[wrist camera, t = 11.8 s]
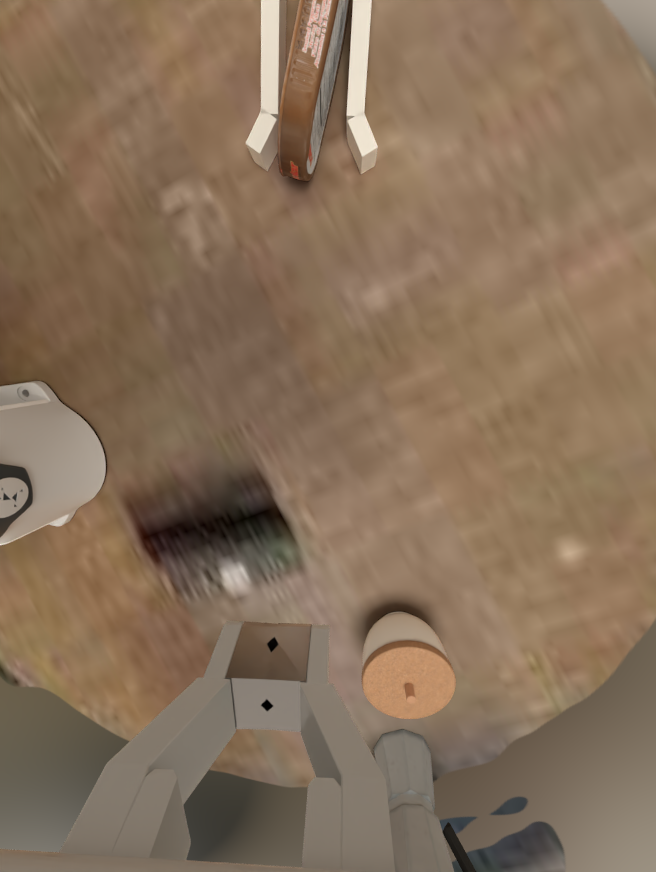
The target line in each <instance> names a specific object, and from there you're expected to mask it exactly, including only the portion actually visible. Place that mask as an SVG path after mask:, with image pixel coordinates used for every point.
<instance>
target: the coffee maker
mask: <svg viewBox="0 0 656 872" xmlns="http://www.w3.org/2000/svg"><path fill="white" fill-rule="evenodd" d="M374 754H375V759H376V762H377V764H378V766H379V768H380V770H381V772H382V773H383V775H384V777H385V779H386V786H387V796H388V805H389V815H390V825H391V835H392V844H393V854H394V864H395V872H454V870H453V866H452V863H451V860H450V856H449V853H448V849H447V846H446V843H445V839H444V836H445V838H446V840H447V842H448V844H449V846H450V847H451V849H452V852H453V853H454V855H455V857H456V859H457V861H458V863H459V865H460V867H461V869H462V871H463V872H476V871H475V869H474V867H473V865H472V863H471V861H470V860H469V858H468V856H467V854H466V852H465V850H464V849H463V847H462V845H461V843H460V841H459V839H458V838H457V836H456V834H455V832H454V830H453V828H452V827H451V825H450V823H449V822H448V823H447V825H446V826H445V828H444V830H443V832H442V829H441V825H440V822H439V819H438V817H437V816H435V815H434V813H433V811H434V809H435V804H434V791H433V778H432V765H431V752H430V750H429V747H428V745H427V743H426V741H425V739H424V737H423V736H421V735H418V734H415V733H412V732H409V731H407V730H404V729H401V730H397V731H394V732H390V733H386V734H382V735H381V737H380V739H379V740H378V742H377V744H376V745H375V747H374ZM443 834H444V836H443Z"/></svg>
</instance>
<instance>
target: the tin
mask: <svg viewBox="0 0 656 872" xmlns="http://www.w3.org/2000/svg"><path fill="white" fill-rule="evenodd" d="M349 4H350V0H299V4H298V9H297V14H296V19H295V25H294V29H293V35H292V40H291V45H290V50H289V56H288V61H287V66H286V71H285V76H284V81H283V87H282V94H281V103H280V111H279V123H278V149H277V151H278V164H279V170H280V173H281V175H282V176H289V177H292V178H295V179H298V180H302V181H309V180H310V179H311V178H312V176H313V173H314V171H315V167H316V164H317V160H318V156H319V152H320V148H321V143H322V139H323V135H324V131H325V126H326V122H327V118H328V114H329V110H330V105H331V101H332V96H333V92H334V87H335V82H336V78H337V73H338V68H339V64H340V59H341V53H342V48H343V43H344V37H345V31H346V25H347V19H348V12H349Z"/></svg>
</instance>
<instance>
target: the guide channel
mask: <svg viewBox="0 0 656 872" xmlns="http://www.w3.org/2000/svg"><path fill="white" fill-rule="evenodd" d="M286 3H287V0H261V112H260V114H259V116H258V118H257V120H256V122H255V124H254V127H253V129H252V131H251V133H250V135H249V137H248V139H247V141H246V145H247V147H248V149H249V152H250V154H251V156H252V158H253V160H254V162H255V163H257V164H258V165H259V166H261V167H262V168H263V169H265V170H266V171H268V170H269V168H270V166H271V164H272V162H273V160H274V158H275V156H276V154H277V152H278V151H277V149H278V123H279V111H280V103H281V94H282V87H283V81H284V76H285V66H286ZM371 3H372V0H353V10H352V28H351V46H350V64H349V82H348V100H347V143H348V145H349V147H350V150H351V152H352V154H353V157H354V159H355V162H356V164H357V166H358V169H359V171H360V173H361V174H363V173H364V172H366V171H368V170H369V169H371V168H373V167H374V166H375V163H376V156H377V149H378V146H377V144H376V141H375V139H374V136H373V134H372V131H371V129H370V127H369V124H368V122H367V119H366V117H365V114H364V108H365V93H366V78H367V63H368V48H369V33H370V18H371Z"/></svg>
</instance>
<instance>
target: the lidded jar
mask: <svg viewBox="0 0 656 872" xmlns="http://www.w3.org/2000/svg"><path fill="white" fill-rule="evenodd" d="M455 685H456V680H455V675H454V671H453V668H452V666H451V664H450V662H449V660H448V657H447V654H446V651H445V649H444V647H443V645H442V643H441V641H440V639H439V638H438V636H437V635H436V633H435V632H434V631H433V629H432V628H431V627H430V626H429V625H428V624H427V623H426V622H424V621H423V620H421V619H420V618H418V617H416V616H413V615H411V614H409V613H406V612H399V611H397V612H391V613H388V614H386V615H384V616H383V617H382V618H381V619H380V620H378V621H377V622H376V623H375V624H374V625H373V626H372V628H371V629H370V631H369V633H368V635H367V637H366V639H365V644H364V648H363V657H362V686H363V691H364V693H365V695H366V697H367V699H368V700H369V701H370V703H371V704H372V705H373V706H374V707H376V708H377V709H378V710H380V711H381V712H383V713H385V714H387V715H389V716H393V717H397V718H402V719H417V718H423V717H426V716H430V715H432V714H434V713H436V712H438V711H439V710H441V709H442V708H443V707H444V706H446V704H447V703H448V702H449V701H450V699H451V698H452V696H453V693H454V691H455Z"/></svg>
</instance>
